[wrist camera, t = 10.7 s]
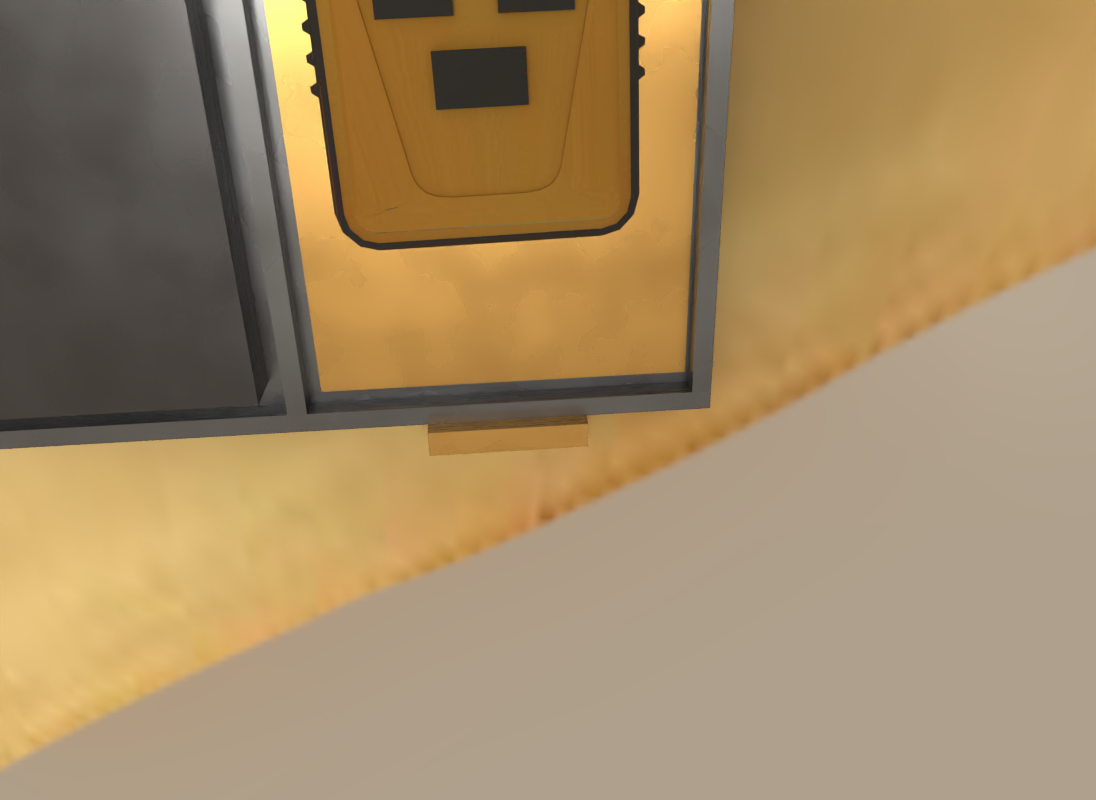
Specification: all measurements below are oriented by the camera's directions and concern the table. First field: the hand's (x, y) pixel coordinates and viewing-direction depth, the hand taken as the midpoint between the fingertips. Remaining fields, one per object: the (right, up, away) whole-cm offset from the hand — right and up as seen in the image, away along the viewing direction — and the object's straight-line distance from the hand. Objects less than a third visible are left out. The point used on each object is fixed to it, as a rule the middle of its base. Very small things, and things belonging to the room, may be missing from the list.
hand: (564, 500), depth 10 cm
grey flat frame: (-8, +8, +17) cm, 20 cm away
